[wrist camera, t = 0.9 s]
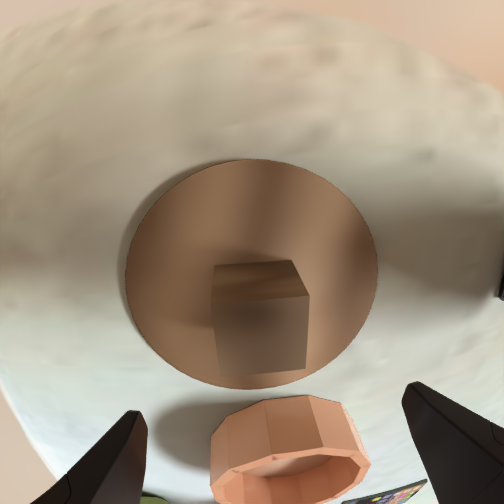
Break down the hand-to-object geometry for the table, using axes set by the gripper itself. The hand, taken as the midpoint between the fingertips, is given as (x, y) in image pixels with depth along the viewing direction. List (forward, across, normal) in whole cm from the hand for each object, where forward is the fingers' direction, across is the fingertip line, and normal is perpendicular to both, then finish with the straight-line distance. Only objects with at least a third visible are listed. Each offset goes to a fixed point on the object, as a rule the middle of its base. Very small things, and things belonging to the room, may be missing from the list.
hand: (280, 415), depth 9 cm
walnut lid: (+9, 0, 0) cm, 9 cm away
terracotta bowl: (+9, -2, +15) cm, 18 cm away
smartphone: (+10, -18, +40) cm, 45 cm away
